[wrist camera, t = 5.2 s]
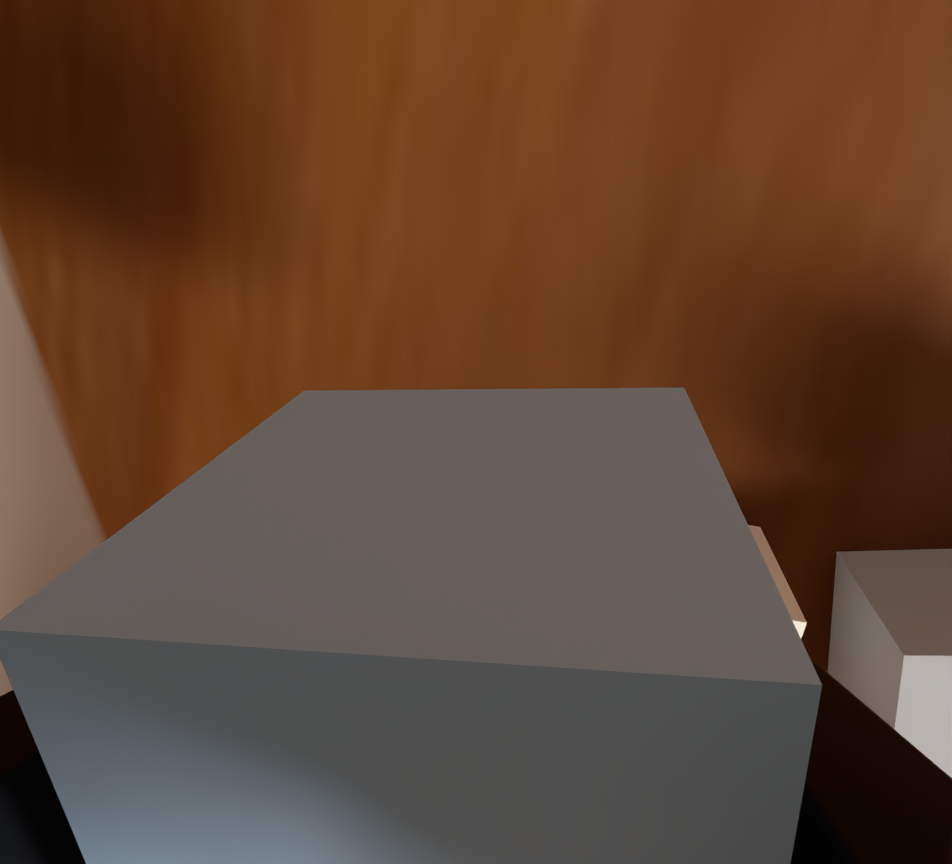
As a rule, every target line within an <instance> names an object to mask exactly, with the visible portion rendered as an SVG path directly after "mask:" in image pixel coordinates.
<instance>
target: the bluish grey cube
mask: <svg viewBox="0 0 952 864" xmlns="http://www.w3.org/2000/svg"><path fill="white" fill-rule="evenodd" d="M0 659H1V661H2V664H3V666H4V668H5V671H6V673H7V676H8V678H9V680H10V683H11V685H12V688H13V690H14V692H15V695H16V697H17V700H18V702H19V704H20V707H21V709H22V712H23V714H24V716H25V719H26V721H27V723H28V726H29V728H30V731H31V733H32V735H33V738H34V740H35V743H36V745H37V747H38V750H39V752H40V755H41V757H42V759H43V762H44V764H45V767H46V769H47V771H48V774H49V776H50V779H51V781H52V783H53V786H54V788H55V791H56V793H57V795H58V798H59V800H60V803H61V805H62V807H63V810H64V812H65V814H66V817H67V819H68V822H69V824H70V826H71V829H72V831H73V834H74V836H75V838H76V841H77V843H78V846H79V848H80V850H81V853H82V855H83V858H84V860H85V862H86V864H791V858H792V852H793V847H794V841H795V835H796V830H797V824H798V819H799V813H800V807H801V802H802V796H803V790H804V785H805V779H806V774H807V768H808V762H809V757H810V751H811V745H812V740H813V734H814V728H815V723H816V717H817V712H818V706H819V700H820V695H821V689H822V684H821V681H820V679H819V677H818V675H817V673H816V671H815V668H814V666H813V664H812V662H811V660H810V658H809V656H808V653H807V651H806V649H805V647H804V645H803V643H802V640H801V638H800V636H799V634H798V632H797V630H796V628H795V625H794V623H793V621H792V619H791V617H790V615H789V612H788V610H787V608H786V606H785V604H784V602H783V599H782V597H781V595H780V593H779V591H778V589H777V587H776V584H775V582H774V580H773V578H772V576H771V574H770V571H769V569H768V567H767V565H766V563H765V561H764V558H763V556H762V554H761V552H760V550H759V548H758V546H757V543H756V541H755V539H754V537H753V535H752V533H751V530H750V528H749V526H748V524H747V522H746V520H745V518H744V515H743V513H742V511H741V509H740V507H739V505H738V502H737V500H736V498H735V496H734V494H733V492H732V489H731V487H730V485H729V483H728V481H727V479H726V477H725V474H724V472H723V470H722V468H721V466H720V464H719V461H718V459H717V457H716V455H715V453H714V451H713V448H712V446H711V444H710V442H709V440H708V438H707V436H706V433H705V431H704V429H703V427H702V425H701V423H700V420H699V418H698V416H697V414H696V412H695V410H694V408H693V405H692V403H691V401H690V399H689V397H688V395H687V392H686V390H685V388H568V389H448V390H328V391H303V392H302V393H301V394H299V395H298V396H297V397H295V398H294V399H293V400H291V401H290V402H289V403H287V404H286V405H285V406H283V407H282V408H281V409H279V410H278V411H277V412H275V413H274V414H273V415H271V416H270V417H269V418H268V419H266V420H265V421H264V422H262V423H261V424H260V425H258V426H257V427H256V428H254V429H253V430H252V431H250V432H249V433H248V434H246V435H245V436H244V437H242V438H241V439H240V440H238V441H237V442H236V443H234V444H233V445H232V446H230V447H229V448H228V449H227V450H225V451H224V452H223V453H221V454H220V455H219V456H217V457H216V458H215V459H213V460H212V461H211V462H209V463H208V464H207V465H205V466H204V467H203V468H201V469H200V470H199V471H197V472H196V473H195V474H193V475H192V476H191V477H189V478H188V479H187V480H185V481H184V482H183V483H182V484H180V485H179V486H178V487H176V488H175V489H174V490H172V491H171V492H170V493H168V494H167V495H166V496H164V497H163V498H162V499H160V500H159V501H158V502H156V503H155V504H154V505H152V506H151V507H150V508H148V509H147V510H146V511H144V512H143V513H142V514H140V515H139V516H138V517H137V518H135V519H134V520H133V521H131V522H130V523H129V524H127V525H126V526H125V527H123V528H122V529H121V530H119V531H118V532H117V533H115V534H114V535H113V536H111V537H110V538H109V539H107V540H106V541H105V542H103V543H102V544H101V545H99V546H98V547H97V548H95V549H94V550H93V551H92V552H90V553H89V554H88V555H86V556H85V557H84V558H82V559H81V560H80V561H78V562H77V563H76V564H75V565H73V566H72V567H70V568H69V569H68V570H66V571H65V572H64V573H62V574H61V575H60V576H58V577H57V578H56V579H54V580H53V581H52V582H50V584H48V585H47V586H45V587H44V588H43V589H41V590H40V591H39V592H37V593H36V594H35V595H33V596H32V597H31V598H29V599H28V600H27V601H25V602H24V603H23V604H22V605H20V606H19V607H17V608H16V609H15V610H13V611H12V612H11V613H9V614H8V615H7V616H5V617H4V618H3V619H2V620H0Z"/></svg>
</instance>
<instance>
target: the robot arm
mask: <svg viewBox="0 0 952 864" xmlns="http://www.w3.org/2000/svg"><path fill="white" fill-rule="evenodd" d="M809 658H810V657H809ZM810 660H811V662H812V664H813V666H814V668H815V671H816V673H817V675H818V677H819V679H820V681H821V684H822V689H821V695H820V700H819V706H818V712H817V717H816V723H815V728H814V734H813V740H812V745H811V751H810V757H809V762H808V768H807V774H806V779H805V785H804V790H803V796H802V802H801V807H800V813H799V819H798V824H797V830H796V835H795V841H794V847H793V852H792V858H791V864H952V778H951V777H950V776H949V775H947V774H946V773H945V772H944V771H943V770H942V769H940V768H939V767H938V766H937V765H936V764H935V763H933V762H932V761H931V760H930V759H929V758H927V757H926V756H925V755H924V754H923V753H922V752H920V751H919V750H918V749H917V748H916V747H915V746H913V745H912V744H911V743H910V742H909V741H908V740H906V739H905V738H904V737H903V736H902V735H900V734H899V733H898V732H897V731H896V730H895V729H893V728H892V727H891V726H890V725H889V724H888V723H886V722H885V721H884V720H883V719H882V718H880V717H879V716H878V715H877V714H876V713H875V712H873V711H872V710H871V709H870V708H869V707H868V706H866V705H865V704H864V703H863V702H862V701H860V700H859V699H858V698H857V697H856V696H855V695H853V694H852V693H851V692H850V691H849V690H848V689H846V688H845V687H844V686H843V685H842V684H840V683H839V682H838V681H837V680H836V679H835V678H833V677H832V676H831V675H830V674H829V673H828V672H826V671H825V670H824V669H823V668H822V667H820V666H819V665H818V664H817V663H816V662H815V661H813V660H812V659H811V658H810ZM0 864H86V862H85V860H84V858H83V855H82V853H81V850H80V848H79V846H78V843H77V841H76V838H75V836H74V834H73V831H72V829H71V826H70V824H69V822H68V819H67V817H66V814H65V812H64V810H63V807H62V805H61V803H60V800H59V798H58V795H57V793H56V791H55V788H54V786H53V783H52V781H51V779H50V776H49V774H48V771H47V769H46V767H45V764H44V762H43V759H42V757H41V755H40V752H39V750H38V747H37V745H36V743H35V740H34V738H33V735H32V733H31V731H30V728H29V726H28V723H27V721H26V719H25V716H24V714H23V712H22V709H21V707H20V704H19V702H18V700H17V697H16V695H15V692H14V690H12V691H10V692H8V693H6V694H4V695H2V696H0Z"/></svg>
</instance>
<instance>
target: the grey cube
mask: <svg viewBox="0 0 952 864" xmlns="http://www.w3.org/2000/svg"><path fill="white" fill-rule="evenodd" d="M828 673H829V674H830V675H831V676H832V677H833V678H835V679H836V680H837V681H838V682H839V683H840V684H842V685H843V686H844V687H845V688H846V689H848V690H849V691H850V692H851V693H852V694H853V695H855V696H856V697H857V698H858V699H859V700H860V701H862V702H863V703H864V704H865V705H866V706H868V707H869V708H870V709H871V710H872V711H873V712H875V713H876V714H877V715H878V716H879V717H880V718H882V719H883V720H884V721H885V722H886V723H888V724H889V725H890V726H891V727H892V728H893V729H895V730H896V731H897V732H898V733H899V734H900V735H902V736H903V737H904V738H905V739H906V740H908V741H909V742H910V743H911V744H912V745H913V746H915V747H916V748H917V749H918V750H919V751H920V752H922V753H923V754H924V755H925V756H926V757H927V758H929V759H930V760H931V761H932V762H933V763H935V764H936V765H937V766H938V767H939V768H940V769H942V770H943V771H944V772H945V773H946V774H947V775H949V776H950V777H951V778H952V549H920V550H882V551H844V552H837V554H836V568H835V581H834V594H833V607H832V620H831V633H830V647H829V660H828Z"/></svg>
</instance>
